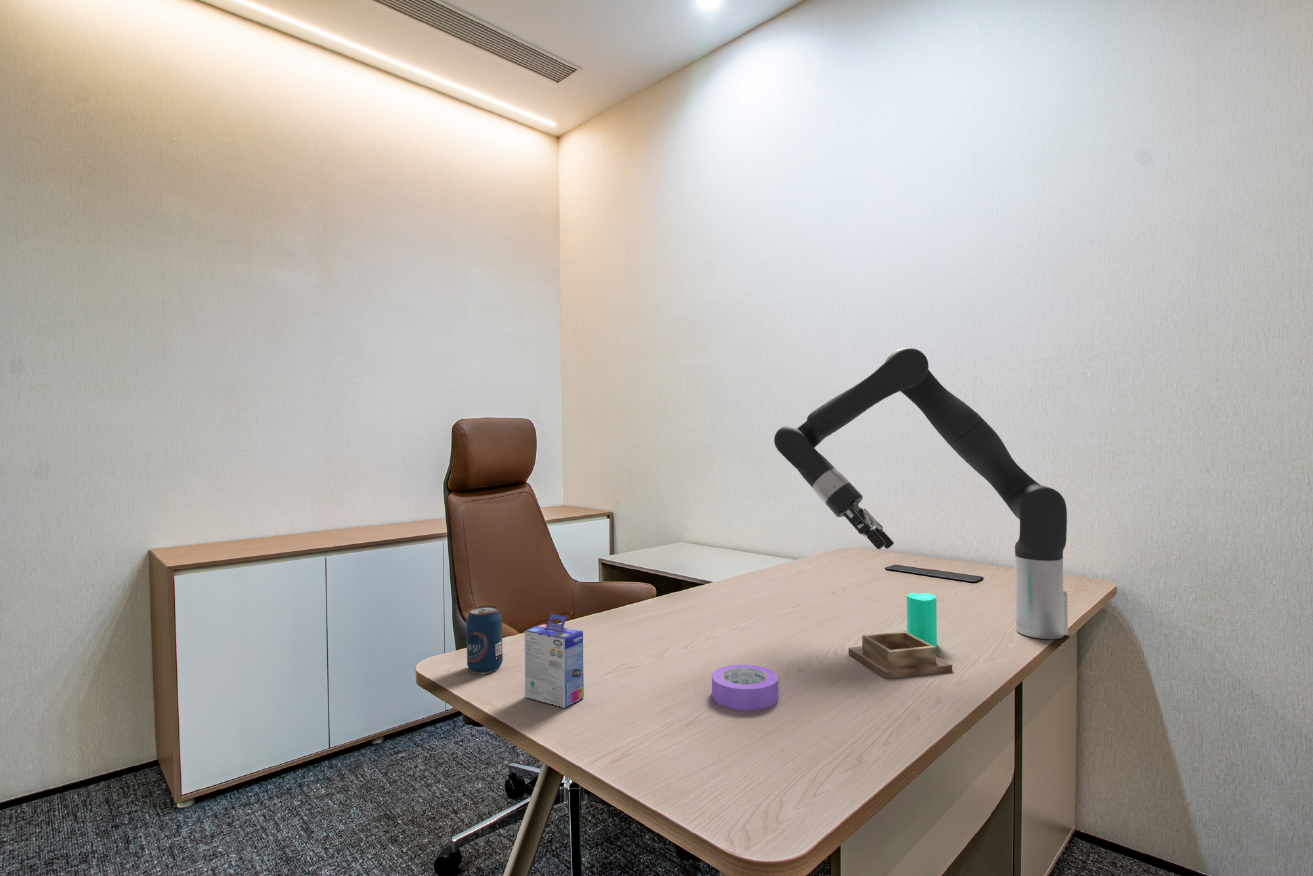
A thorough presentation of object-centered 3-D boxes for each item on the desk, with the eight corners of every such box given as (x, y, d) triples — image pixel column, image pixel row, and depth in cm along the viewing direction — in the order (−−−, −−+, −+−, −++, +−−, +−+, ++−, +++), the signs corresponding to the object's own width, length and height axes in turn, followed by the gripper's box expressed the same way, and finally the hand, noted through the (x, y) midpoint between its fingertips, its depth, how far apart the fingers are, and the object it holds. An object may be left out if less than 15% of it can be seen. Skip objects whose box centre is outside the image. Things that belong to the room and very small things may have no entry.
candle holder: (908, 647, 135) (908, 627, 135) (952, 671, 122) (951, 649, 122) (848, 653, 132) (848, 633, 132) (886, 678, 119) (886, 656, 119)
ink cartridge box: (586, 698, 113) (584, 617, 113) (566, 710, 109) (564, 625, 108) (544, 687, 119) (542, 609, 118) (523, 698, 114) (521, 617, 114)
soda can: (460, 672, 127) (458, 612, 126) (481, 660, 133) (480, 603, 133) (488, 677, 124) (487, 616, 124) (509, 664, 130) (508, 606, 130)
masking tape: (710, 684, 119) (710, 663, 119) (773, 683, 118) (772, 663, 118) (714, 712, 107) (713, 689, 107) (783, 711, 107) (783, 688, 107)
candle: (941, 643, 137) (940, 588, 137) (931, 650, 133) (930, 593, 133) (913, 637, 141) (912, 583, 141) (902, 644, 137) (901, 589, 137)
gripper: (840, 479, 141) (893, 535, 134) (856, 483, 153) (905, 535, 146) (816, 501, 143) (866, 558, 136) (833, 504, 155) (881, 556, 148)
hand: (886, 546), depth 141 cm, fingers open, 8 cm apart
